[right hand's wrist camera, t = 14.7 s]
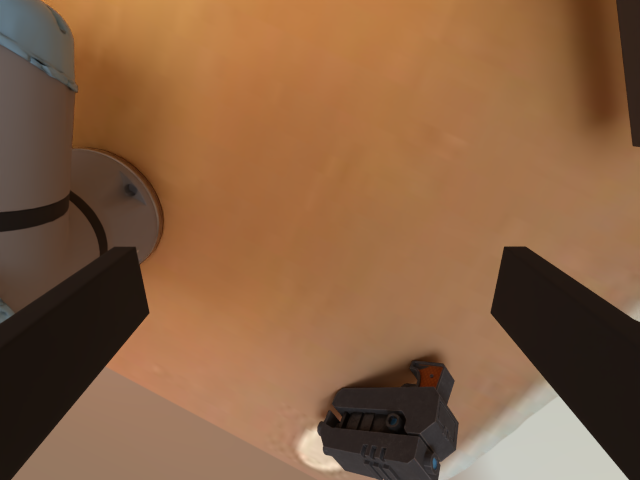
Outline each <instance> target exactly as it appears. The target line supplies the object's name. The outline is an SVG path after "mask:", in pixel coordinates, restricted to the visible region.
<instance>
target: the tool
mask: <svg viewBox="0 0 640 480" xmlns="http://www.w3.org/2000/svg"><path fill="white" fill-rule="evenodd" d="M410 370H411V371H412V373H413V374H414V375H415V377H416V378H417V384H408V383H407V384H404V385H402V386H401V387H387V388H342V389H341V390H340V391H338V392H337V394H336V396H335V398H334V400H333V402H332V405H333V406H334V407H335V408H336V410H337V411H338V412H339V413H340V414H341V416H342V419H341V421H339V420H338V419H337V418H336V416H335V415H334V414H333V413H332V412H331V411H328V413H327V416H326V418H325V420H324V422H323V421H321V422H320V423H319V425H318V428H317V432H318V434H319V435H320V436H321V439H322V443H323V452H324V454H325V455H329V456H332V457H333V458H334V459H335V460H336V461H337V462H338V463H339V464H340V465H341V467H342V468H343V469H344V470H345V471H349V472H353V473H356V474H360V475H364V476H368V477H372V478H376V479H378V480H383V479H384V480H438V477H439V471H440V464H439V462H441V461H443V460H444V459H445V458H446V457H448V456H449V455H450V454H451V453H453V452H454V451H455V450H456V444H457V434H458V424H459V423H458V421H457V420H456V418H455V417H454V415H453V413H452V412H451V411H450V409H449V408H448V406H447V403H448V400H449V397H450V394H451V391H452V387H453V384H454V379H453V378H452V376H451V375H450V373H449V371H448V370H447V368H446V367H445V365H444V364H442V363H432V362H423V361H412V363H411V366H410Z"/></svg>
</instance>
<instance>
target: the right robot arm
mask: <svg viewBox="0 0 640 480" xmlns="http://www.w3.org/2000/svg"><path fill="white" fill-rule="evenodd" d="M75 92H76V93H78V86H77V84H76V83H75V72H74V39H73V35H72V33H71V30H70V28H69V26H68V25H67V23H66V22H65V20H64V19H63V18H62V17H61V16H60V15H59V14H58V13H57V12H56V11H55V10H54V9H53V8H51V7H50V6H48V5H47V4H45V3H44V2H42V1H40V0H0V480H11V479H12V478H13V477H14V475H15V474H16V473H17V472H18V471H19V469H20V468H21V467H22V466H23V465H24V463H25V462H26V461H27V460H28V459H29V457H30V456H31V455H32V454H33V453H34V451H35V450H36V449H37V448H38V446H39V445H40V444H41V443H42V442H43V441H44V439H45V438H46V437H47V436H48V435H49V433H50V432H51V431H52V430H53V429H54V427H55V426H56V425H57V424H58V422H59V421H60V420H61V419H62V418H63V416H64V415H65V414H66V413H67V412H68V410H69V409H70V408H71V407H72V406H73V404H74V403H75V402H76V401H77V400H78V398H79V397H80V396H81V395H82V394H83V392H84V391H85V390H86V389H87V388H88V386H89V385H90V384H91V383H92V382H93V380H94V379H95V378H96V377H97V376H98V374H99V373H100V372H101V371H102V370H103V368H104V367H105V366H106V365H107V364H108V362H109V361H110V360H111V359H112V358H113V356H114V355H115V354H116V353H117V351H118V350H119V349H120V348H121V347H122V345H123V344H124V343H125V342H126V341H127V339H128V338H129V337H130V336H131V335H132V333H133V332H134V331H135V330H136V329H137V327H138V326H139V325H140V324H141V323H142V321H143V320H144V319H145V318H146V317H147V315H148V314H149V308H148V303H147V299H146V294H145V289H144V284H143V279H142V274H141V270H140V265H139V264H141V263H142V262H143V261H144V260H145V259H146V258H148V257H149V256H150V255H151V254H152V252H153V251H154V250H155V248H156V247H157V245H158V243H159V241H160V238H161V235H162V229H163V215H162V209H161V205H160V202H159V200H158V197H157V195H156V193H155V191H154V189H153V188H152V186H151V185H150V183H149V182H148V180H147V179H146V178H145V177H144V176H143V175H142V174H141V173H140V171H139V170H137V169H136V168H135V167H134V166H133V165H131V164H130V163H129V162H127V161H126V160H124V159H122V158H121V157H119V156H117V155H115V154H112V153H110V152H107V151H104V150H100V149H95V148H86V147H80V148H72V138H73V121H74V104H75ZM491 314H492V315H493V317H494V318H495V319H496V320H497V321H498V323H499V324H500V325H501V326H502V327H503V329H504V330H505V331H506V332H507V333H508V335H509V336H510V337H511V338H512V339H513V341H514V342H515V343H516V344H517V345H518V347H519V348H520V349H521V350H522V352H523V353H524V354H525V355H526V356H527V358H528V359H529V360H530V361H531V362H532V364H533V365H534V366H535V367H536V368H537V370H538V371H539V372H540V373H541V374H542V376H543V377H544V378H545V379H546V380H547V382H548V383H549V384H550V385H551V386H552V388H553V389H554V390H555V391H556V392H557V394H558V395H559V396H560V397H561V398H562V400H563V401H564V402H565V403H566V404H567V406H568V407H569V408H570V409H571V410H572V412H573V413H574V414H575V415H576V416H577V418H578V419H579V420H580V421H581V422H582V424H583V425H584V426H585V427H586V428H587V430H588V431H589V432H590V433H591V435H592V436H593V437H594V438H595V439H596V440H597V442H598V443H599V444H600V445H601V447H602V448H603V449H604V450H605V451H606V453H607V454H608V455H609V456H610V457H611V459H612V460H613V461H614V462H615V463H616V465H617V466H618V467H619V468H620V469H621V471H622V472H623V473H624V474H625V475H626V477H627V478H628V479H629V480H640V322H638V321H636V320H634V319H632V318H631V317H629V316H628V315H626V314H625V313H623V312H622V311H620V310H619V309H617V308H616V307H615V306H613V305H612V304H610V303H609V302H607V301H606V300H604V299H603V298H601V297H600V296H598V295H597V294H595V293H594V292H592V291H591V290H589V289H588V288H586V287H585V286H583V285H582V284H580V283H579V282H577V281H576V280H574V279H573V278H572V277H570V276H569V275H567V274H566V273H564V272H563V271H561V270H560V269H558V268H557V267H555V266H554V265H552V264H551V263H549V262H548V261H546V260H545V259H543V258H542V257H540V256H539V255H537V254H536V253H534V252H533V251H531V250H530V249H529V248H527V247H504V250H503V255H502V260H501V265H500V270H499V274H498V279H497V284H496V289H495V294H494V299H493V303H492V308H491Z"/></svg>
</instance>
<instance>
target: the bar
mask: <svg viewBox="0 0 640 480" xmlns="http://www.w3.org/2000/svg"><path fill="white" fill-rule="evenodd" d="M616 2H617V11H618V20H619V29H620V38H621V47H622V56H623V64H624V73H625V82H626V91H627V100H628V109H629V118H630V127H631V135H632V144H633V146H636V147H640V0H616Z"/></svg>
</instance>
